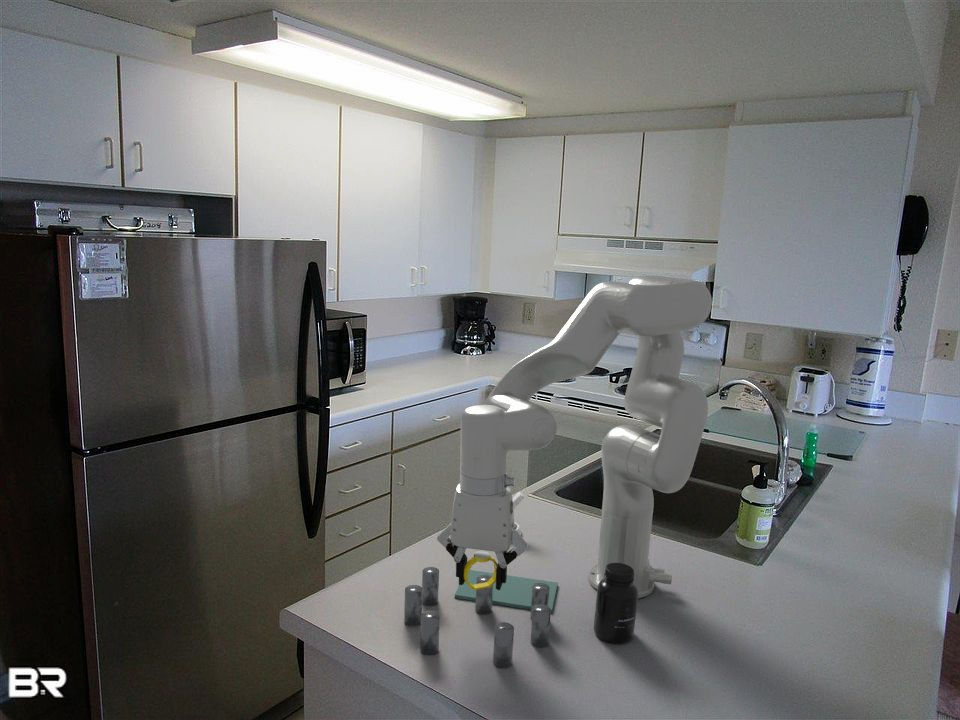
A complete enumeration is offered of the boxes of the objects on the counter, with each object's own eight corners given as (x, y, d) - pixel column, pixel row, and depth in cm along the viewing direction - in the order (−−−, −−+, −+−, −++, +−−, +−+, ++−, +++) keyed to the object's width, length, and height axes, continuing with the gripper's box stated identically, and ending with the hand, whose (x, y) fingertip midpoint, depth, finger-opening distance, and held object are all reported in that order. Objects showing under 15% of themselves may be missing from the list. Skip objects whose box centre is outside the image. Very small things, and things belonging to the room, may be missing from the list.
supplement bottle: (625, 650, 112) (631, 583, 110) (587, 636, 116) (592, 570, 113) (639, 631, 118) (645, 566, 116) (602, 618, 121) (607, 555, 119)
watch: (493, 581, 117) (496, 549, 116) (499, 589, 114) (502, 556, 113) (460, 585, 115) (463, 552, 113) (466, 593, 112) (469, 560, 111)
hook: (545, 520, 149) (521, 504, 147) (511, 556, 153) (486, 541, 150) (540, 500, 156) (516, 485, 154) (506, 535, 159) (483, 520, 157)
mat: (557, 585, 132) (557, 582, 132) (551, 612, 122) (551, 609, 122) (466, 572, 135) (467, 569, 135) (454, 597, 126) (454, 594, 126)
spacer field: (553, 616, 121) (556, 585, 120) (542, 675, 105) (544, 639, 104) (419, 595, 126) (420, 565, 125) (387, 648, 110) (388, 614, 109)
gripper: (538, 478, 112) (535, 578, 116) (438, 468, 116) (437, 566, 120) (532, 495, 105) (528, 602, 109) (425, 485, 109) (425, 588, 112)
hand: (481, 582), depth 114 cm, fingers closed on watch, 5 cm apart
